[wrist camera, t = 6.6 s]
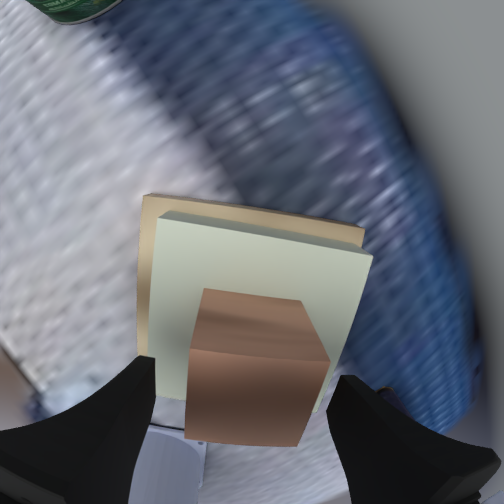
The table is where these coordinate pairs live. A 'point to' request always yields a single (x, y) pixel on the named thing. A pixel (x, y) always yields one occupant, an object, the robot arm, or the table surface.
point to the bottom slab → (252, 215)
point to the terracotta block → (252, 370)
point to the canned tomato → (73, 9)
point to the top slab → (245, 284)
